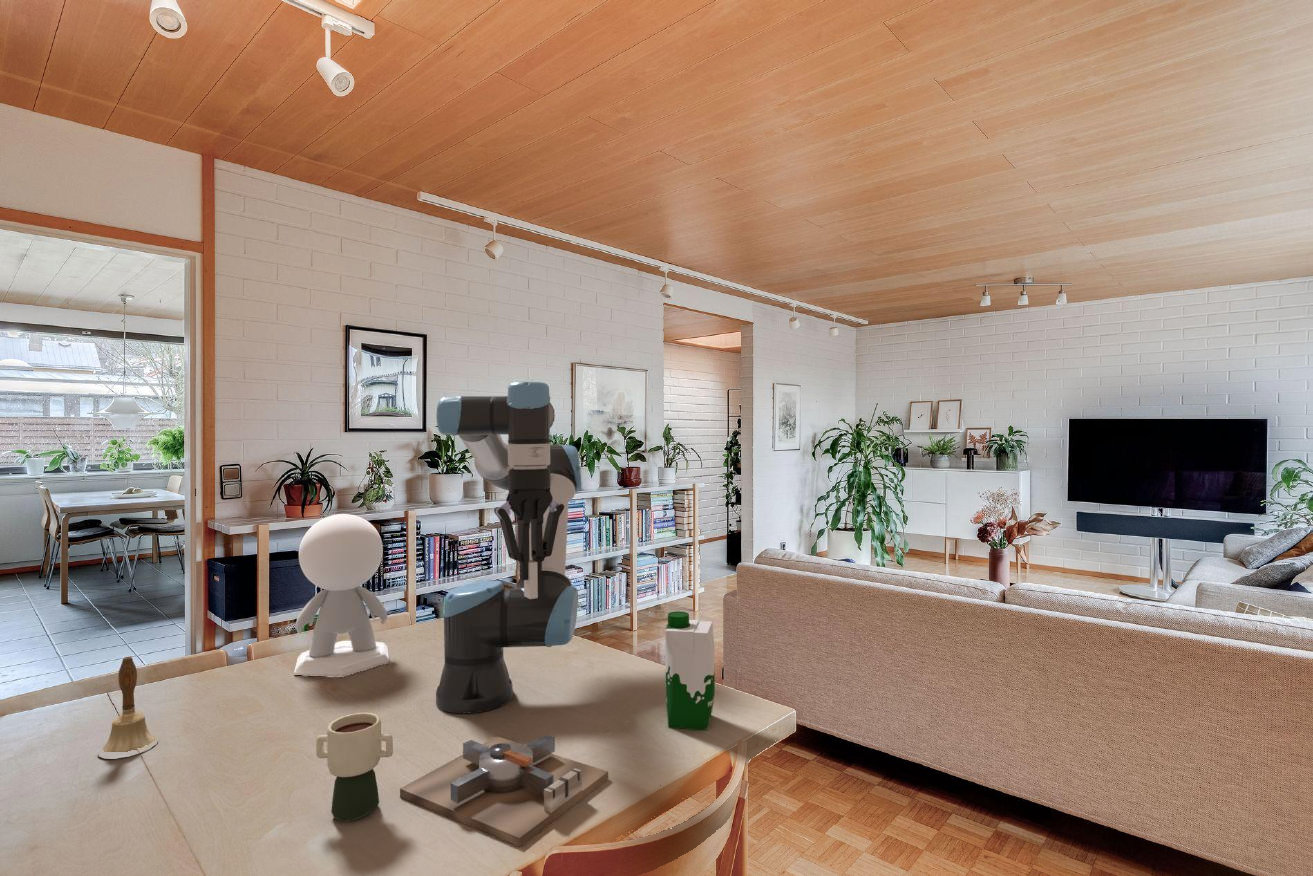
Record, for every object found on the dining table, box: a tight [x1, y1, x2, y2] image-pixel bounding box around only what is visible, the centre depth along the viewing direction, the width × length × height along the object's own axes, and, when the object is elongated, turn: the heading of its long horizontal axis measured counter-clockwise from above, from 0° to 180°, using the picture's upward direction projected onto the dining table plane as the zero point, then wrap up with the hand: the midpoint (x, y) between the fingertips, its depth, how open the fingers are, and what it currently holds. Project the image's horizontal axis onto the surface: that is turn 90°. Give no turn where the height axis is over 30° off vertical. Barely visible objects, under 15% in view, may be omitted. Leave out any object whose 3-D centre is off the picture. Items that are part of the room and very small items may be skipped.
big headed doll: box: [293, 513, 390, 678], centre depth 161 cm, size 20×23×35 cm
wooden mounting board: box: [399, 735, 609, 848], centre depth 104 cm, size 24×20×4 cm
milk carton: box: [664, 610, 716, 731], centre depth 127 cm, size 9×9×20 cm
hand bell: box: [102, 656, 157, 752], centre depth 118 cm, size 8×8×16 cm
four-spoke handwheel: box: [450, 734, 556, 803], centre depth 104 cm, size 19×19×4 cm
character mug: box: [315, 712, 394, 821], centre depth 97 cm, size 11×7×13 cm, turn 91°
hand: (530, 596), depth 123 cm, fingers closed
